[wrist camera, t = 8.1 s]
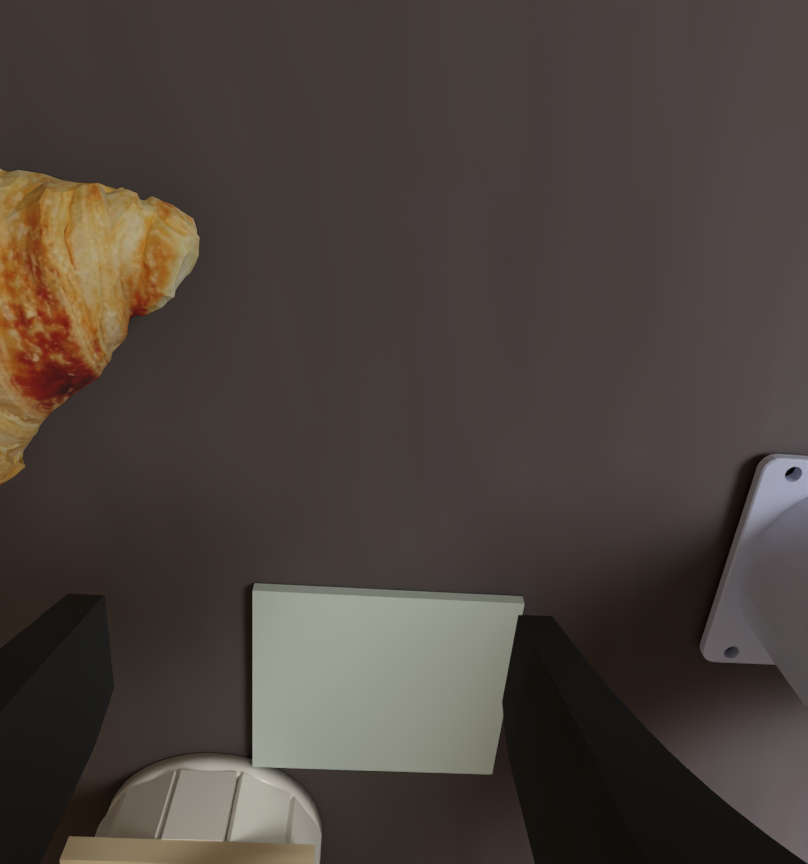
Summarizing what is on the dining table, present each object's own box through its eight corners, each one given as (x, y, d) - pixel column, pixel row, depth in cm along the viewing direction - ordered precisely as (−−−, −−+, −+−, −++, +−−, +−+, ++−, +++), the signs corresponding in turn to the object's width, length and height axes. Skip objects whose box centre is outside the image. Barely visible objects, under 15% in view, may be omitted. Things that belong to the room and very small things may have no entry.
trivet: (522, 596, 25) (524, 603, 24) (490, 765, 28) (492, 774, 28) (254, 583, 24) (252, 590, 24) (253, 758, 27) (252, 766, 27)
